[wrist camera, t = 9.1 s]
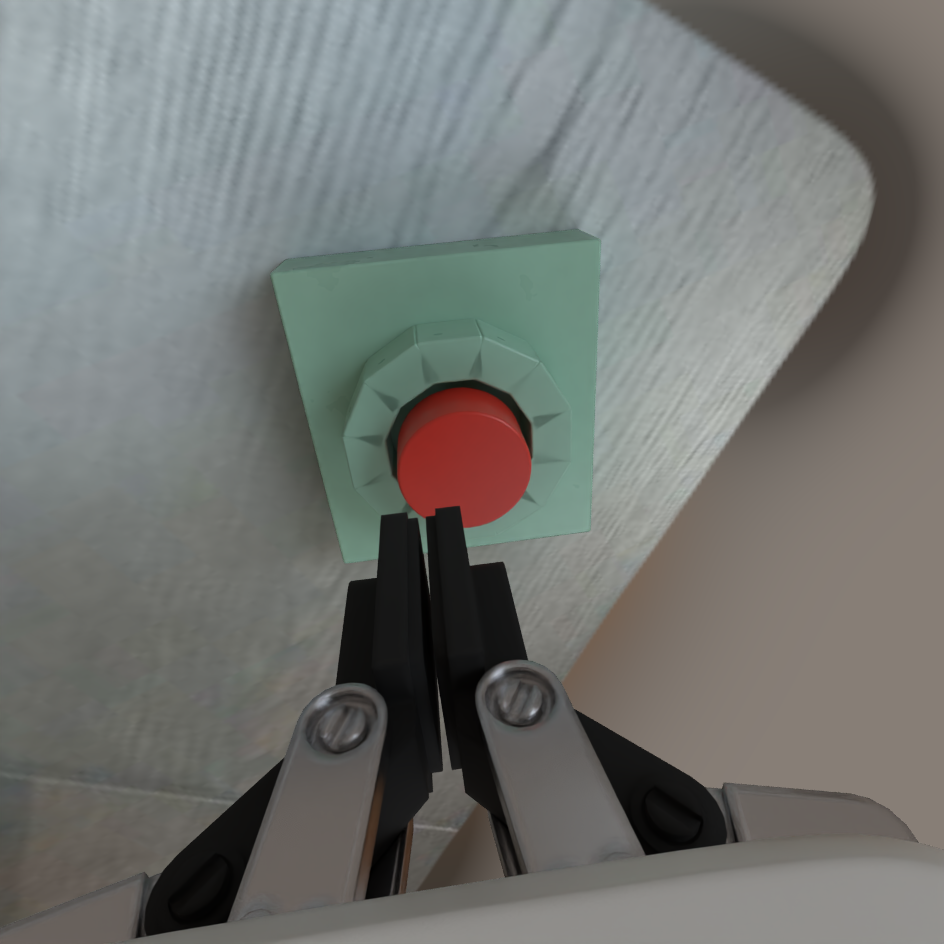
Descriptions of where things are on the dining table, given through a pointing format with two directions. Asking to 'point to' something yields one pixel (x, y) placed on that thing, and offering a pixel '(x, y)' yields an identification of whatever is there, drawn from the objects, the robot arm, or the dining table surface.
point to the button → (462, 456)
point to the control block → (447, 368)
